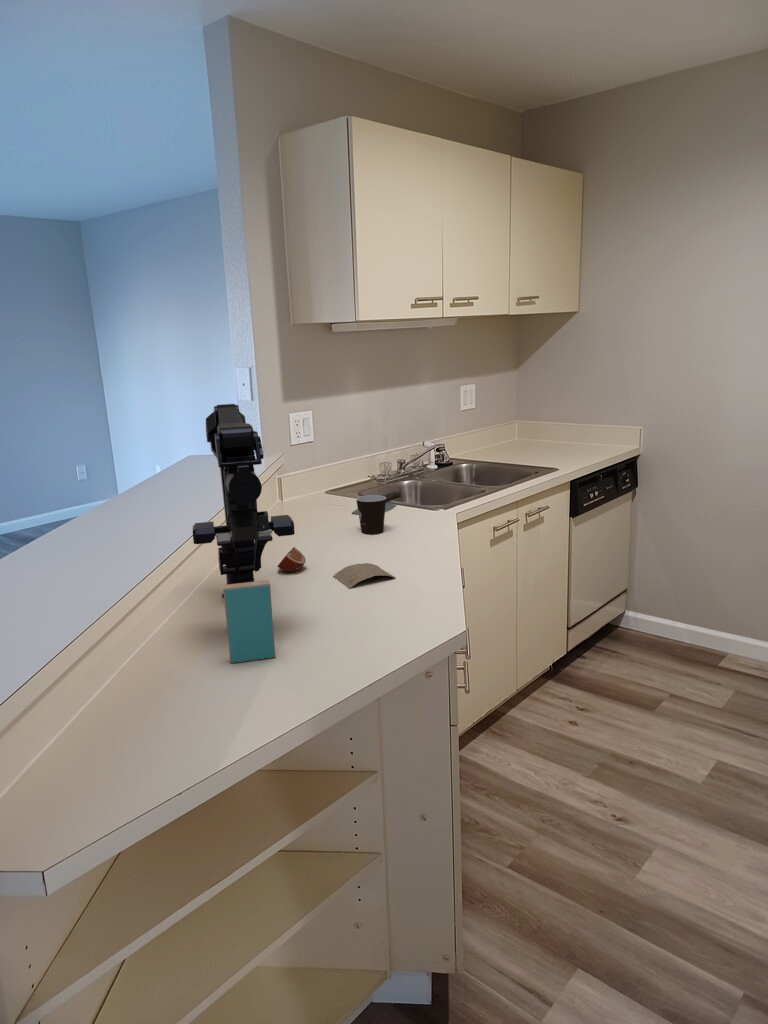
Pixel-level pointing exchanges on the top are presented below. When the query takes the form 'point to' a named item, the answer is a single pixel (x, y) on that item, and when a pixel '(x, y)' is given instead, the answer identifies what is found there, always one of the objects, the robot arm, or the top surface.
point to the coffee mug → (371, 513)
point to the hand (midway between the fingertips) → (247, 572)
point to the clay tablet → (358, 573)
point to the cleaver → (388, 498)
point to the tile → (249, 621)
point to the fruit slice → (292, 560)
